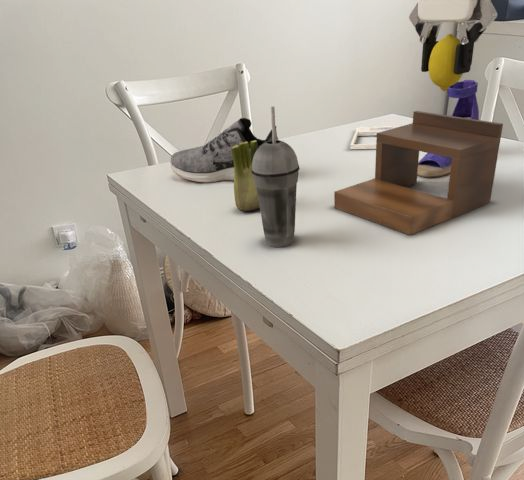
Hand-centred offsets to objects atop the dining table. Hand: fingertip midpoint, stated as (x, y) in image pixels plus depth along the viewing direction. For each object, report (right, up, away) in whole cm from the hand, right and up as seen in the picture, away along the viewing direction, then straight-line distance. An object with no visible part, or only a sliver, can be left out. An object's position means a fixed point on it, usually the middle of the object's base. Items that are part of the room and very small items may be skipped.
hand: (445, 70), depth 85 cm
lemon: (0, -3, +2) cm, 3 cm away
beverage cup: (-26, -27, +2) cm, 37 cm away
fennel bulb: (-31, -18, +16) cm, 39 cm away
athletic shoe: (-36, -6, +33) cm, 49 cm away
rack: (-3, -18, +11) cm, 21 cm away
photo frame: (+1, +8, +49) cm, 50 cm away
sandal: (+10, -5, +29) cm, 31 cm away
